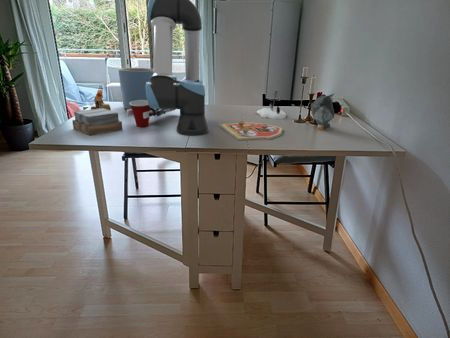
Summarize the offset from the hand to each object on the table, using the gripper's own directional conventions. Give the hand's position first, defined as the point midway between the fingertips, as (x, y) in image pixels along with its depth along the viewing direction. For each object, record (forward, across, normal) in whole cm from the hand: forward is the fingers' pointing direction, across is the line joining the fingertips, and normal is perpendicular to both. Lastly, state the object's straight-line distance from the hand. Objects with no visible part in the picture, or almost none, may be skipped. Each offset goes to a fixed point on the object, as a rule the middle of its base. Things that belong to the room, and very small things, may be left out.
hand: (135, 114), depth 146 cm
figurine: (-65, -52, -7) cm, 84 cm away
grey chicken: (-46, -83, -7) cm, 95 cm away
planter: (-43, +29, -7) cm, 52 cm away
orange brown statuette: (-11, +31, -7) cm, 33 cm away
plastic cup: (-5, 0, -7) cm, 8 cm away
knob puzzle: (-23, -54, -7) cm, 59 cm away
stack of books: (+11, +14, -7) cm, 19 cm away
